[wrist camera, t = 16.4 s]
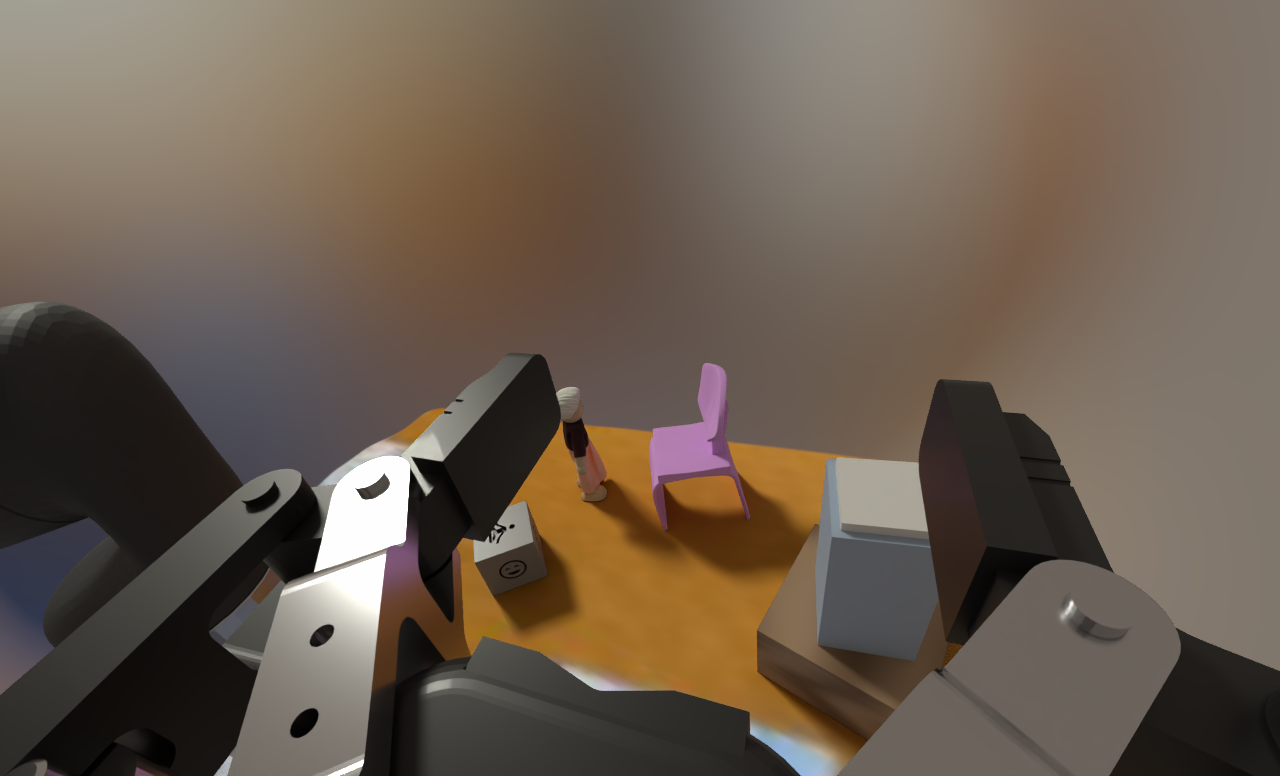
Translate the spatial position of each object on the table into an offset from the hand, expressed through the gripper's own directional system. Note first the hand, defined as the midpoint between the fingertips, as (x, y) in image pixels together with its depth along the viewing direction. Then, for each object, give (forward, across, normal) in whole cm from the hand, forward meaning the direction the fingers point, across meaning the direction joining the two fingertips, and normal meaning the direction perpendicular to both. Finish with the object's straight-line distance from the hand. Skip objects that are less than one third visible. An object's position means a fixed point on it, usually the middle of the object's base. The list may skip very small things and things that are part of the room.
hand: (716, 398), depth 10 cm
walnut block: (+12, -6, +32) cm, 35 cm away
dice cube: (+13, +23, +32) cm, 42 cm away
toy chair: (+24, +8, +32) cm, 41 cm away
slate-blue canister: (+12, -6, +26) cm, 29 cm away
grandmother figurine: (+24, +20, +32) cm, 45 cm away
